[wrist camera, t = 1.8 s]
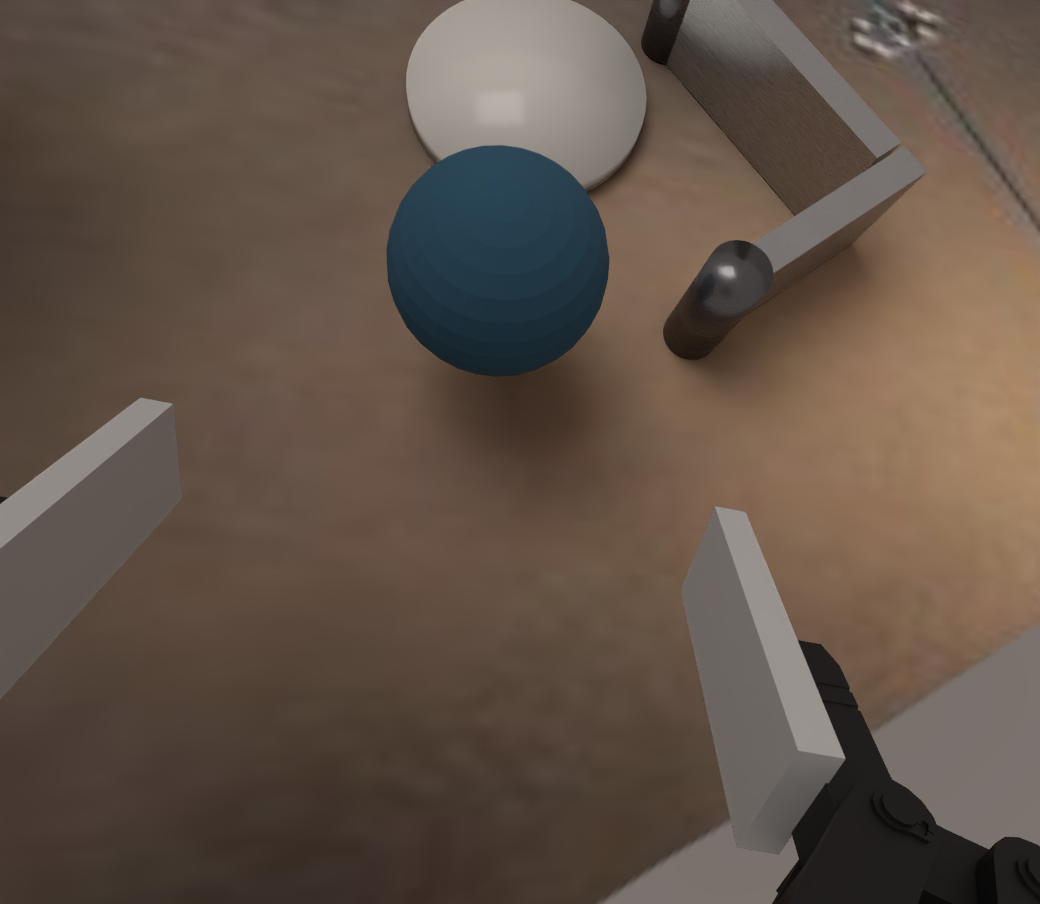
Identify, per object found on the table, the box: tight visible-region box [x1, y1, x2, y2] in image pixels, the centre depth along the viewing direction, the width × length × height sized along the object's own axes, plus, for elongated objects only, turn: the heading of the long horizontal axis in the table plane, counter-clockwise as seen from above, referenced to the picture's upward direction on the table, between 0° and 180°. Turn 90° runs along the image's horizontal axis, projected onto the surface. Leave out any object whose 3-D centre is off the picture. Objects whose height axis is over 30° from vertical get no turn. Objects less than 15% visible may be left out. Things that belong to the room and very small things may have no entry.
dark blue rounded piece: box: [387, 145, 609, 376], centre depth 27 cm, size 8×8×12 cm
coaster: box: [406, 0, 647, 192], centre depth 36 cm, size 13×13×1 cm
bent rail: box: [641, 0, 928, 360], centre depth 33 cm, size 18×13×6 cm
